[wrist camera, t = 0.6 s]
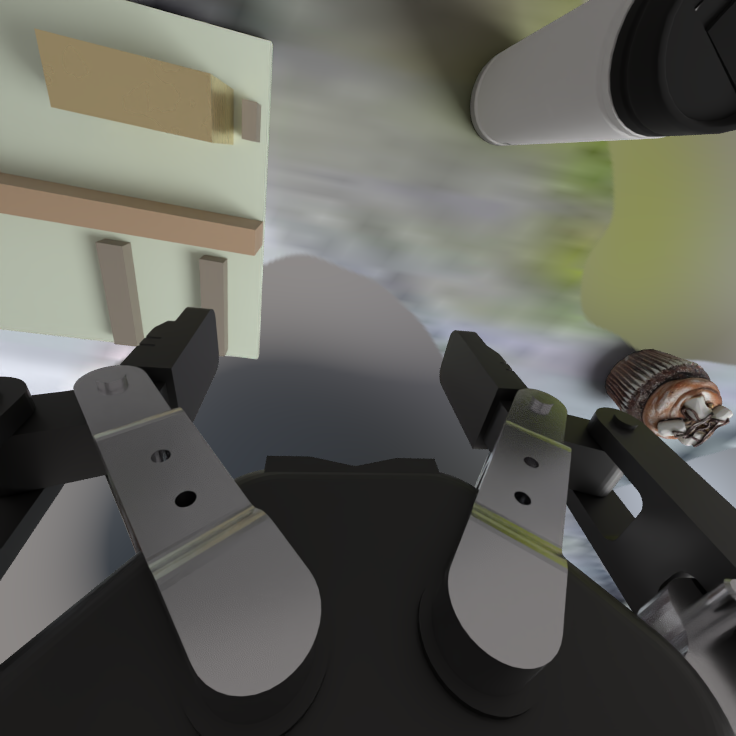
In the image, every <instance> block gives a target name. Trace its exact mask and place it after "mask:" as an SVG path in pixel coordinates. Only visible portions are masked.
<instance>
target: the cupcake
mask: <svg viewBox="0 0 736 736" xmlns="http://www.w3.org/2000/svg"><path fill="white" fill-rule="evenodd" d="M605 388H606V390H607V394H608V395H609V396H610V397H611V398H612V400H613V401H614V402H615V403H616V405H617V406H618V407H619V409H620V410H621V411H623V412H625V413H627V414H630V415H631V416H633V417H635V418H637V419H638V420H640V421H641V422H642V423H644V424H645V425H646V426H647V427H648V428H649V429H650V430H651V431H652V432H654V433H655V434H656V435H657V436H659V437H662V438H666V439H678V440H679V441H680V442H681V443H682V444H684V445H686V446H689V445H693V446H694V447H697V446H699V445H701V444H702V443H703V442H705V441H706V440H707V439H708V438H709V437H710V436H711V435H712V434H713V433H714V431H715V430H716V429H717V428H718V427H721V426H724V425H726V424H728V423H729V418H731V417H732V416H733V413H732V411H731V410H729V409H728V408H726V407H724V406H722V398H721V396H720V392H719V390H718V388H717V385H715V384H714V383H713V382H711V381H710V378H709V376H708V374H707V373H706V372H705V371H704V370H703V368H701V366H699V365H698V364H697V363H694V362H691V361H687V360H684V359H681V358H678V357H675V356H673V355H670V354H667V353H664V352H661V351H657V350H654V349H648V350H641V351H637V352H634V353H632V354H630V355H628V356H627V357H625V358H624V359H623V360H621V361H619V362H618V363H617V364H616V365H615V366H614V367H613V369H612V370H611V372H610V374H609V375H608V377H607V379H606V385H605Z"/></svg>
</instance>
